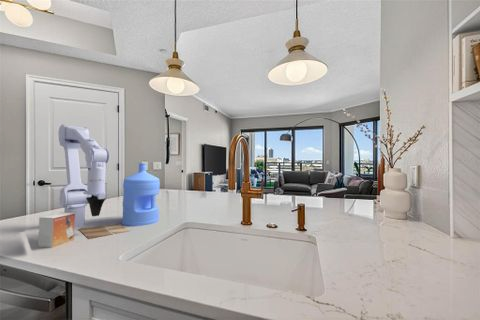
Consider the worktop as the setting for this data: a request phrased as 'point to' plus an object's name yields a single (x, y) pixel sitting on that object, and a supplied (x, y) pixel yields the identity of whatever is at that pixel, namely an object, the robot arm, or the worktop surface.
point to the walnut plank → (95, 232)
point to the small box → (56, 229)
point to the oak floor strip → (116, 228)
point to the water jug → (140, 198)
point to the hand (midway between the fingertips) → (95, 215)
